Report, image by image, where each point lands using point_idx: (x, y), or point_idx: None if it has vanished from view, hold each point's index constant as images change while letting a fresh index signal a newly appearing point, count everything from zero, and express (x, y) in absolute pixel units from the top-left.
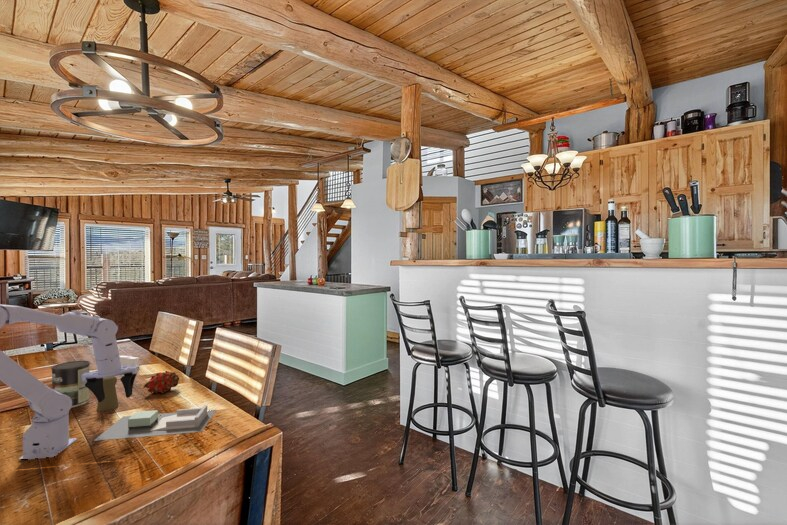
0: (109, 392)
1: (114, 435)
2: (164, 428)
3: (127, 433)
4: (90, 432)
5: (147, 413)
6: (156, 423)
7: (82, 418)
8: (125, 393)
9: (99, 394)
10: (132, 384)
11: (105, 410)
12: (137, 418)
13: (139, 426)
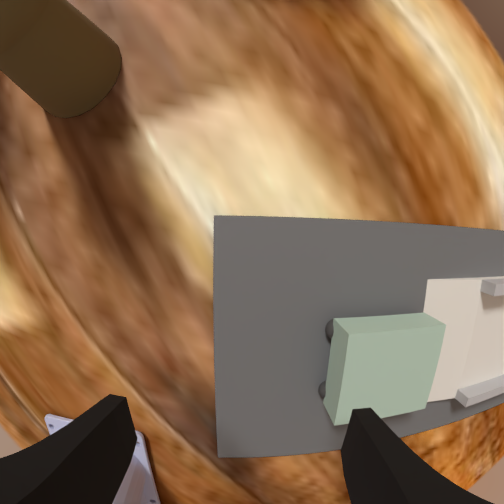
0: (43, 54)
1: (281, 432)
2: (447, 396)
3: (328, 422)
4: (145, 374)
5: (408, 365)
6: None
7: (20, 191)
8: (349, 490)
9: (111, 483)
10: (421, 474)
11: (77, 111)
12: None
13: None
